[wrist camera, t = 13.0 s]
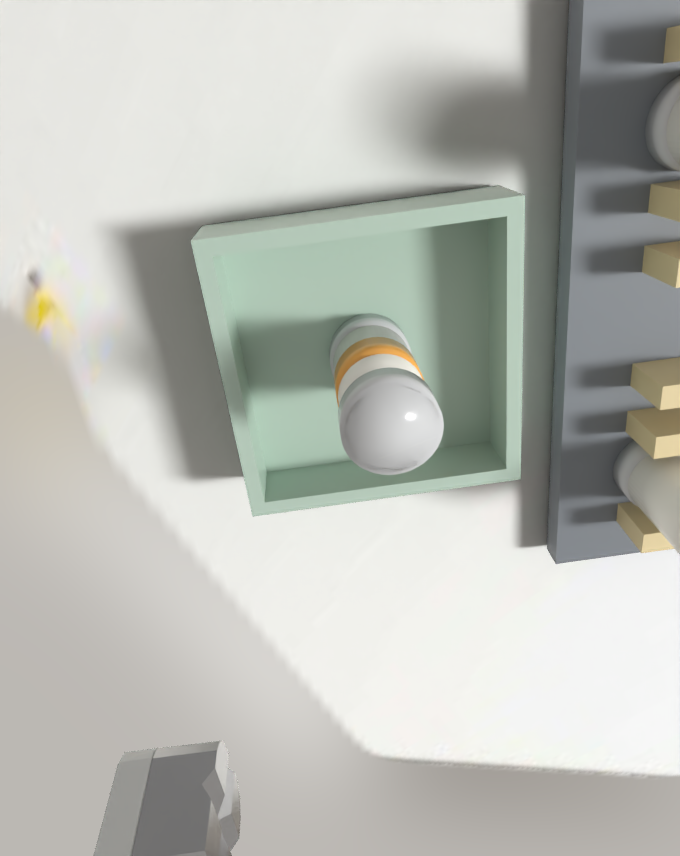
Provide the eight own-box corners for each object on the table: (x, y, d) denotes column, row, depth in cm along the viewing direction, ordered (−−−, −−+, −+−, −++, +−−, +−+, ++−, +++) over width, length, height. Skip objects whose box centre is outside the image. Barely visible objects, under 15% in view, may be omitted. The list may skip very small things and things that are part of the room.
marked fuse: (324, 319, 25) (333, 390, 18) (404, 308, 25) (441, 375, 18) (334, 392, 26) (346, 481, 20) (409, 382, 26) (445, 467, 20)
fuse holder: (570, -32, 20) (621, -58, 17) (811, -65, 21) (907, -97, 17) (546, 548, 31) (575, 598, 28) (703, 526, 32) (750, 573, 28)
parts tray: (202, 225, 23) (190, 240, 21) (498, 185, 23) (524, 195, 21) (256, 478, 29) (252, 516, 26) (499, 444, 29) (520, 479, 26)
